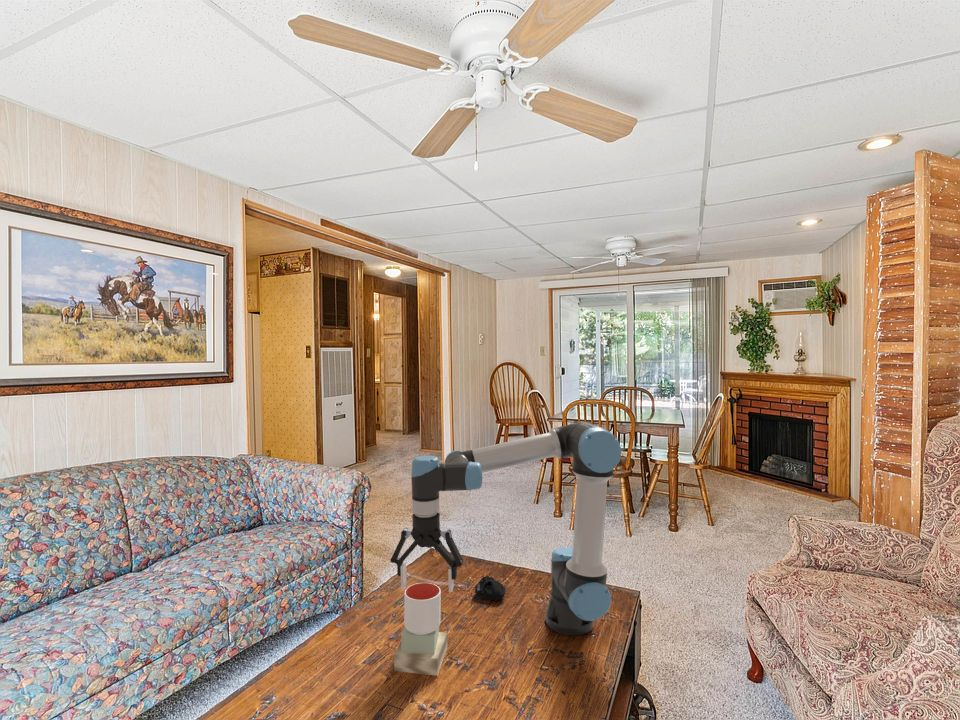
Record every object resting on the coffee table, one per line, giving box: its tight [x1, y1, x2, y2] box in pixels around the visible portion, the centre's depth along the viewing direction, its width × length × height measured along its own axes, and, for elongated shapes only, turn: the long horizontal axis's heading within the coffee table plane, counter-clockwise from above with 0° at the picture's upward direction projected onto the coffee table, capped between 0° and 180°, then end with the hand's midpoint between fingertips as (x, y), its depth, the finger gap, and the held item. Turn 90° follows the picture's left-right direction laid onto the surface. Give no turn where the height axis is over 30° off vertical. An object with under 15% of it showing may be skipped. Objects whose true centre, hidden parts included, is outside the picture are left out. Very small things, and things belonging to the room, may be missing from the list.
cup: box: [403, 582, 442, 635], centre depth 135 cm, size 10×10×10 cm
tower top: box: [400, 625, 440, 654], centre depth 135 cm, size 9×9×5 cm
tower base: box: [393, 631, 448, 677], centre depth 135 cm, size 12×12×5 cm
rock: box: [474, 575, 506, 601], centre depth 171 cm, size 9×10×10 cm
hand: (427, 588), depth 135 cm, fingers open, 13 cm apart
